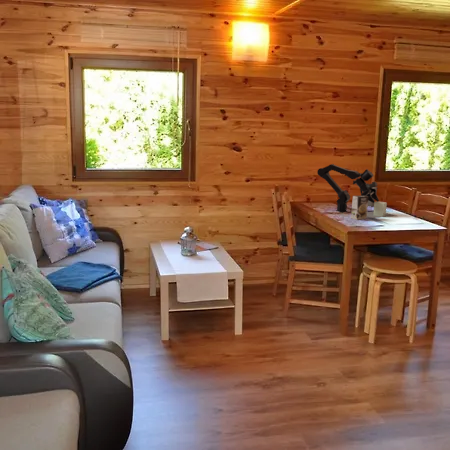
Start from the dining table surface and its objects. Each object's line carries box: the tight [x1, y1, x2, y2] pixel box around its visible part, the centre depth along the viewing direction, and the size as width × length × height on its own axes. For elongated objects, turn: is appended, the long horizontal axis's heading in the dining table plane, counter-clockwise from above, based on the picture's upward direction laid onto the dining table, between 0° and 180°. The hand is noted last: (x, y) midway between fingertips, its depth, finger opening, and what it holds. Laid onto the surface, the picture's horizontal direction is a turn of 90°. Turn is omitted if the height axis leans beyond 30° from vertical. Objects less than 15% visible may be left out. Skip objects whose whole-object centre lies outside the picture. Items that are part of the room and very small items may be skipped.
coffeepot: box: [359, 187, 379, 208], centre depth 421 cm, size 15×9×18 cm, turn 103°
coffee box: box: [350, 195, 368, 221], centre depth 364 cm, size 9×6×16 cm
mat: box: [367, 211, 397, 219], centre depth 382 cm, size 24×20×1 cm
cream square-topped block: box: [373, 201, 388, 218], centre depth 377 cm, size 7×7×10 cm
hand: (376, 201), depth 377 cm, fingers open, 9 cm apart
